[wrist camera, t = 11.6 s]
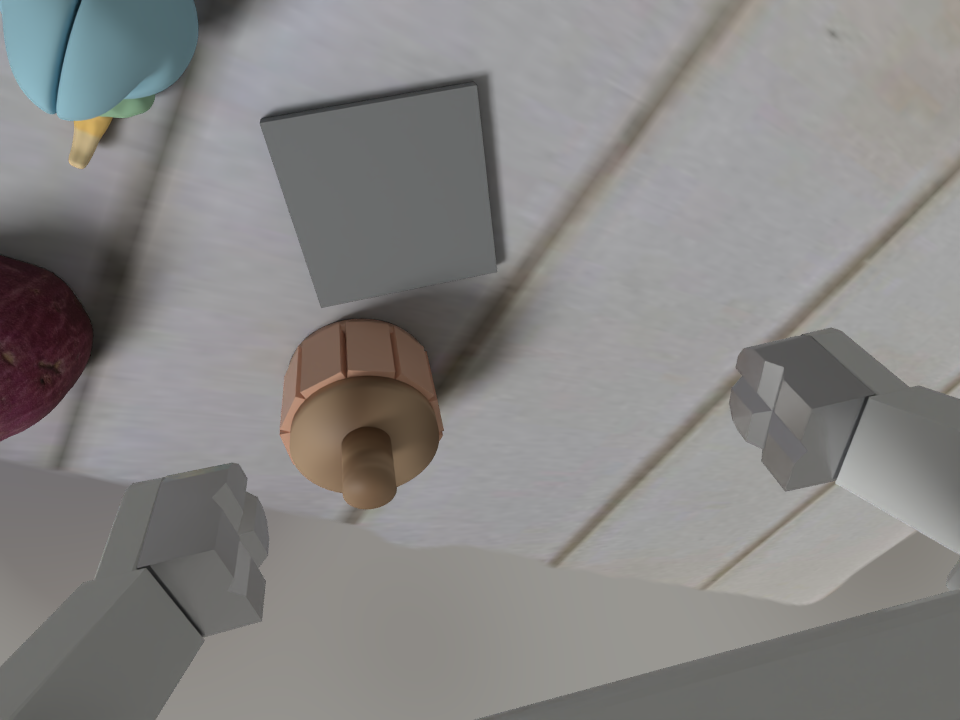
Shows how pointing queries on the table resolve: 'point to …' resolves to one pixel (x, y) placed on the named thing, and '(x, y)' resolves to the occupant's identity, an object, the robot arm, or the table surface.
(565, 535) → the table surface
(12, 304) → the vegetable
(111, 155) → the table surface
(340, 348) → the faceted hollow tube
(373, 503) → the lid
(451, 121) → the mat
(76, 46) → the toy flower bud
